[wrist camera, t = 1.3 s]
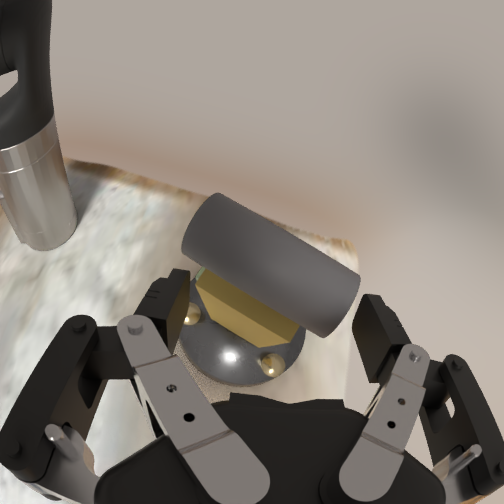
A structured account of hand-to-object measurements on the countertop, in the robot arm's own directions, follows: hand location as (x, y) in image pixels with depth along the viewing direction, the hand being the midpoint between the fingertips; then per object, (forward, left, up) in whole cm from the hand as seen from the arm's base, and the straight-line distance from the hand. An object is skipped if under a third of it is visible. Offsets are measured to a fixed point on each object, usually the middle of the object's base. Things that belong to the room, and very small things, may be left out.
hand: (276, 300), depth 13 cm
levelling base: (+4, +6, -21) cm, 22 cm away
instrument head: (+4, +6, -17) cm, 19 cm away
